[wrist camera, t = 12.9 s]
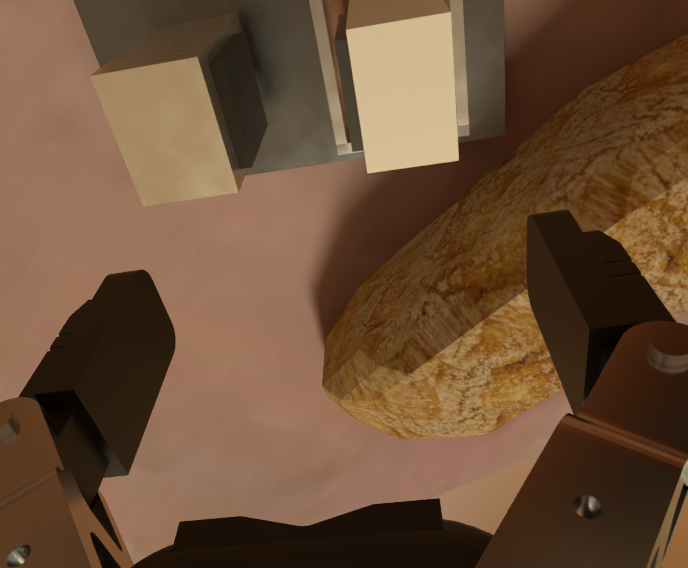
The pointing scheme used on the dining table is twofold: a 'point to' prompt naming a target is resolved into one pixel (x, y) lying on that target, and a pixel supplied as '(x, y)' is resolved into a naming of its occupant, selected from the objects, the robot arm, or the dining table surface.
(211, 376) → the dining table surface
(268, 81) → the grey block holder
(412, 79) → the beige block
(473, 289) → the bread
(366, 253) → the dining table surface
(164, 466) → the dining table surface
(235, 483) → the dining table surface
